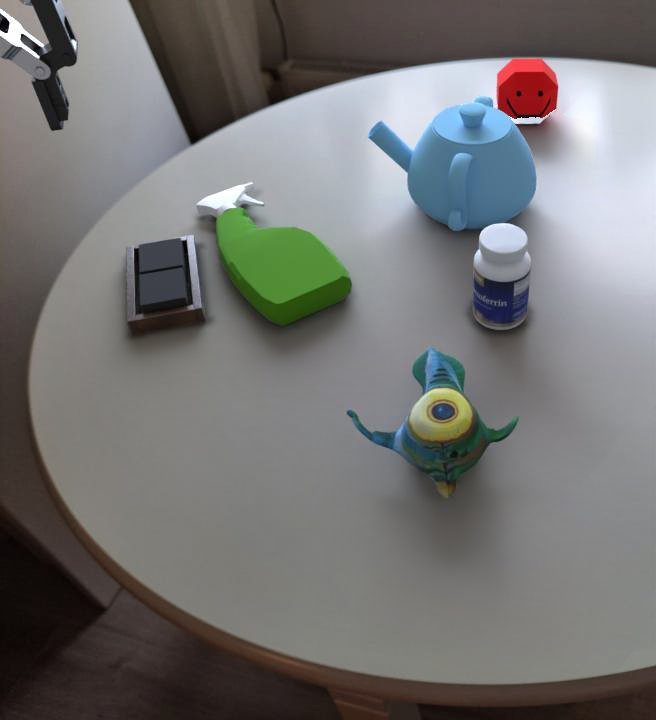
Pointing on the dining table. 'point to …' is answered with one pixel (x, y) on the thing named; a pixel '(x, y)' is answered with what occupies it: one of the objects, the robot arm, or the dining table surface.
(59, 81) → the robot arm
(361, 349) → the dining table surface
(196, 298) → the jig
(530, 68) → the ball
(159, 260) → the pad
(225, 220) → the spray bottle
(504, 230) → the pill bottle
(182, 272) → the pad
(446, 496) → the decorative fish
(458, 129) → the teapot
